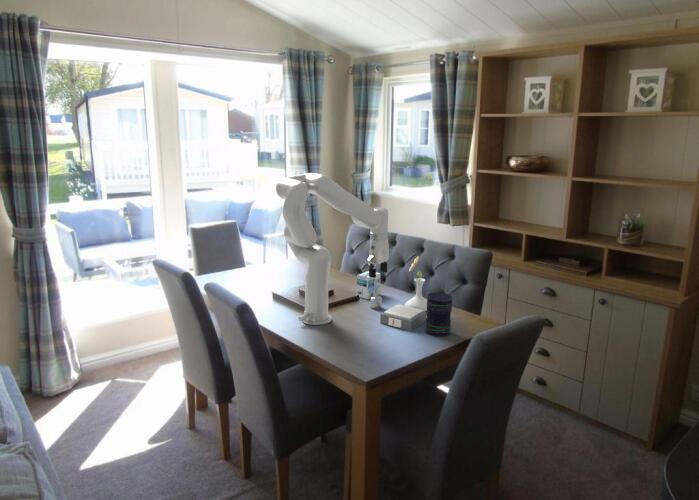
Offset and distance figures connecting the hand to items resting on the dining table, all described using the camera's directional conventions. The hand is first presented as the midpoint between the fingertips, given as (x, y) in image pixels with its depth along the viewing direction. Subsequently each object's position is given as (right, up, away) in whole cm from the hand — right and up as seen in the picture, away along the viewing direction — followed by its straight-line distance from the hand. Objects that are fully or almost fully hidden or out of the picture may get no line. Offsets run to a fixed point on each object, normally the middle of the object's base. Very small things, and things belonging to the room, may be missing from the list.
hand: (378, 274), depth 232 cm
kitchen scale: (+10, -19, -13) cm, 25 cm away
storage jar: (+22, -22, -23) cm, 39 cm away
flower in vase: (+17, -16, +2) cm, 24 cm away
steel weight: (-1, -15, +3) cm, 16 cm away
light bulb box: (-4, -11, +20) cm, 24 cm away
